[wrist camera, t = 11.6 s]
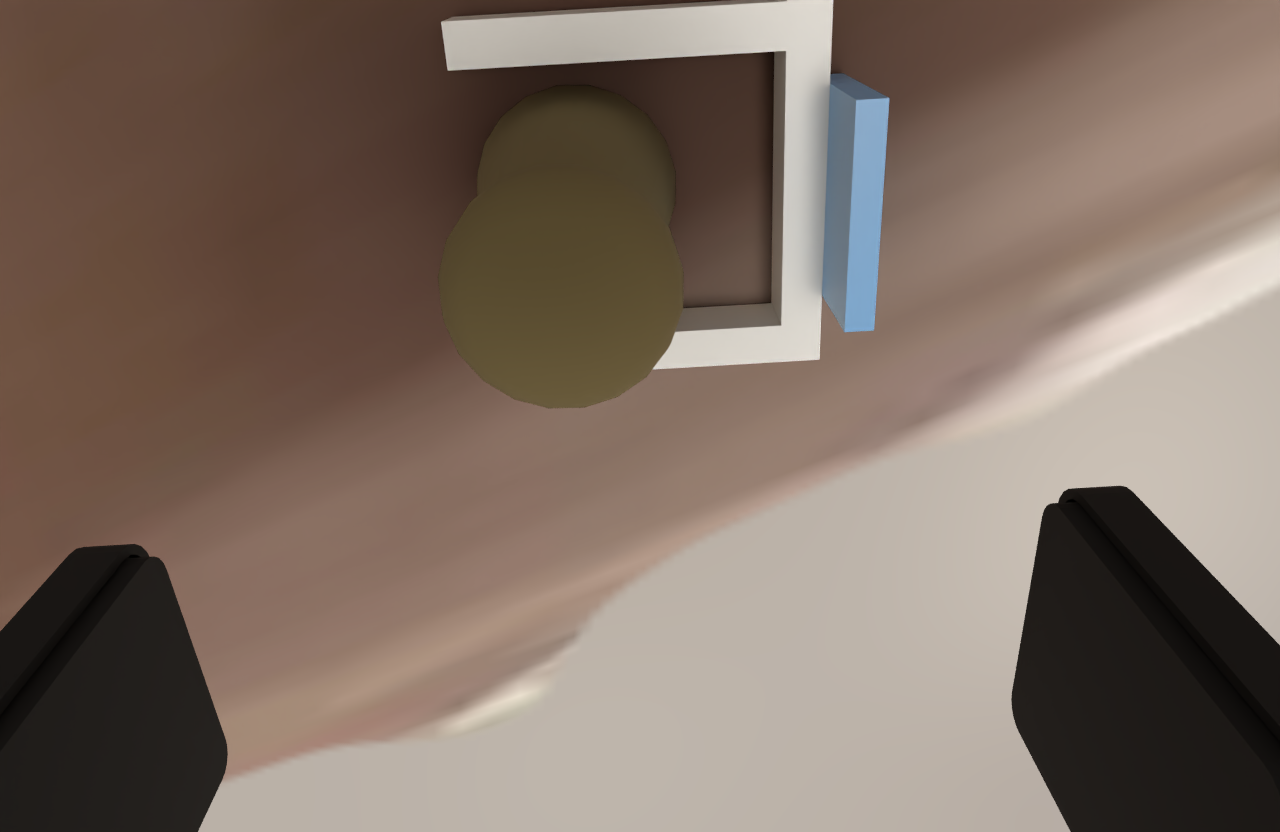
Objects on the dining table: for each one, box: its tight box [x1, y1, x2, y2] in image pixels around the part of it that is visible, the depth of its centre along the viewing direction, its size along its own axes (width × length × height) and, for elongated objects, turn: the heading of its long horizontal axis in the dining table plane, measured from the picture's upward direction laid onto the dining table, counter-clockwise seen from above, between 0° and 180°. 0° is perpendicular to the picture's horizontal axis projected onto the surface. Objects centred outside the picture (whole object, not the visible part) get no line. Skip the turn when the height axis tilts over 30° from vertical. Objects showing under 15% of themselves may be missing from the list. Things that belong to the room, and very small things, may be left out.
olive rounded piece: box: [438, 85, 684, 408], centre depth 23 cm, size 6×6×11 cm
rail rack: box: [441, 0, 889, 369], centre depth 24 cm, size 19×11×5 cm, turn 3°
